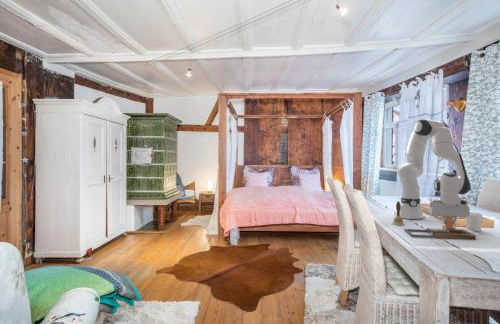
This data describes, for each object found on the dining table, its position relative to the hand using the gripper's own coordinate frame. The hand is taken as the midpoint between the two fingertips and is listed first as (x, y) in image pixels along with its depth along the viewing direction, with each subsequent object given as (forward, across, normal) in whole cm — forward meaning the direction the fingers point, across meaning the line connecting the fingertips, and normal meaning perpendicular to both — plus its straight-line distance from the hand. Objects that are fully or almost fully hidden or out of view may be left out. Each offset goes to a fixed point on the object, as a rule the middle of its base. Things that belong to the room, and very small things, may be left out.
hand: (448, 223), depth 169 cm
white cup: (+5, +16, +6) cm, 18 cm away
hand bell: (+5, -25, +10) cm, 27 cm away
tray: (+5, -20, -12) cm, 24 cm away
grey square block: (+4, -12, -12) cm, 18 cm away
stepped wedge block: (+5, 0, 0) cm, 5 cm away
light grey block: (+4, -8, -12) cm, 15 cm away
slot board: (+5, -5, -12) cm, 14 cm away
